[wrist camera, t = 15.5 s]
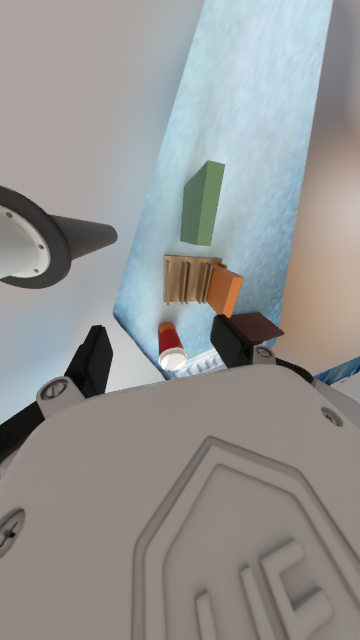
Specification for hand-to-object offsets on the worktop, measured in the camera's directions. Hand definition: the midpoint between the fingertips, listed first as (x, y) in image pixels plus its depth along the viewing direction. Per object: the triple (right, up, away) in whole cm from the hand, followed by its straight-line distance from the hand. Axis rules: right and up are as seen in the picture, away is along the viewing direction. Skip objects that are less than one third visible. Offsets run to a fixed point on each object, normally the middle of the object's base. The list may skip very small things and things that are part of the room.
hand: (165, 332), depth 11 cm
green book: (+3, +26, +20) cm, 33 cm away
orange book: (+10, +13, +29) cm, 33 cm away
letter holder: (+24, -1, +43) cm, 49 cm away
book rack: (+5, +13, +29) cm, 32 cm away
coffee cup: (-4, -2, +37) cm, 37 cm away
